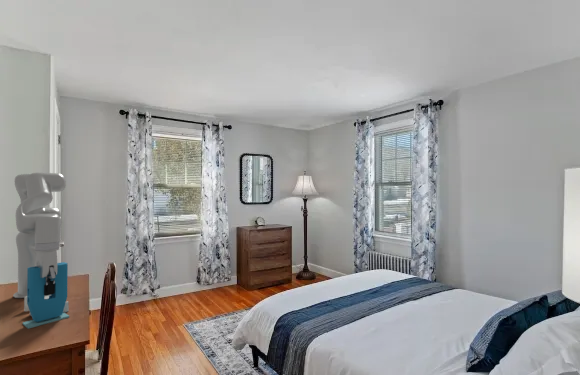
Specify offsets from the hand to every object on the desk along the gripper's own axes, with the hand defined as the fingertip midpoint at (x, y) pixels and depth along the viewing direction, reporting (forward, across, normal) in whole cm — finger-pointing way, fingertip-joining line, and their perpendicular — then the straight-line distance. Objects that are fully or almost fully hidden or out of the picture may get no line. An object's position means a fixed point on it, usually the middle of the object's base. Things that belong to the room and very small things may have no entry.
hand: (46, 292), depth 122 cm
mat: (+11, 0, 0) cm, 11 cm away
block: (+10, 0, 0) cm, 10 cm away
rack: (+11, -12, +3) cm, 16 cm away
